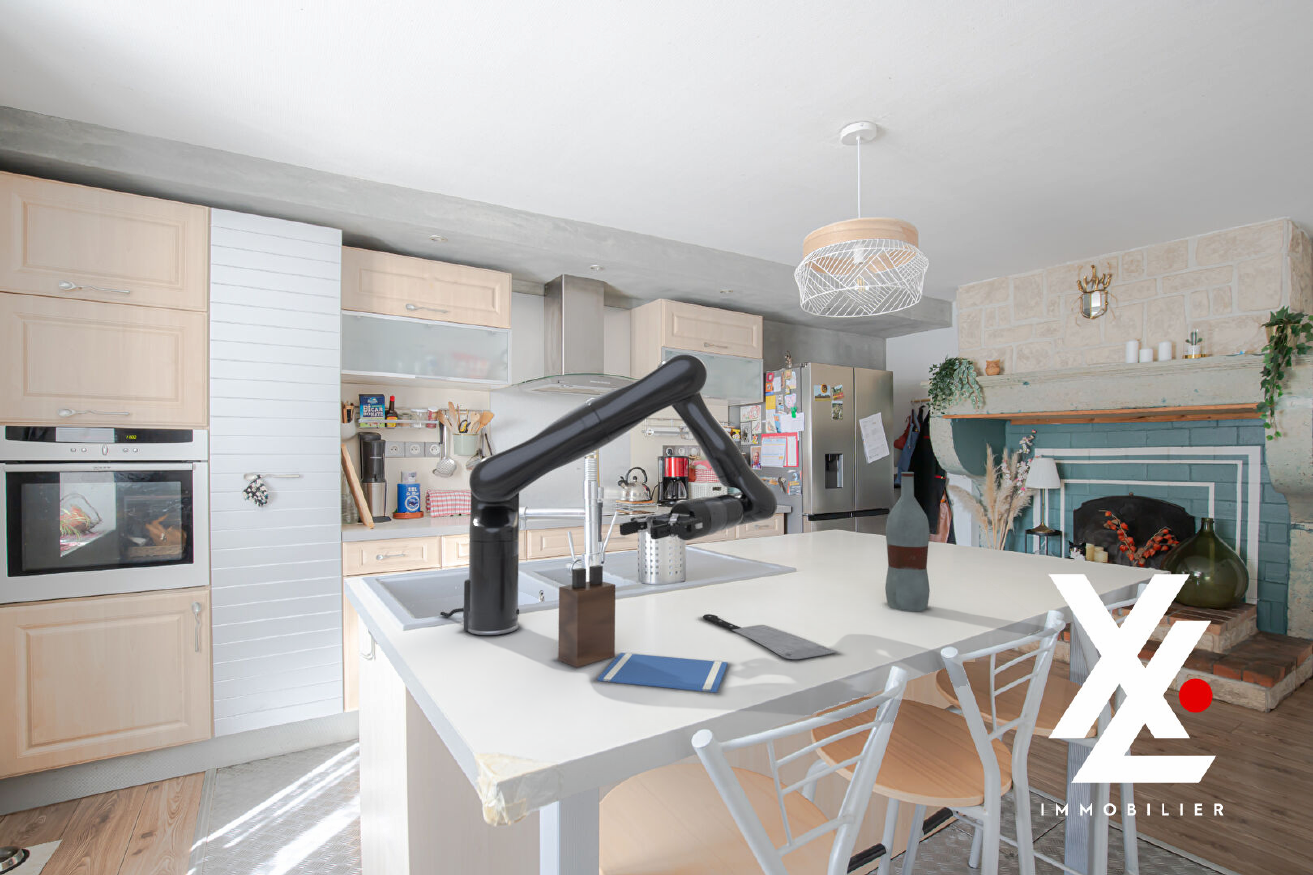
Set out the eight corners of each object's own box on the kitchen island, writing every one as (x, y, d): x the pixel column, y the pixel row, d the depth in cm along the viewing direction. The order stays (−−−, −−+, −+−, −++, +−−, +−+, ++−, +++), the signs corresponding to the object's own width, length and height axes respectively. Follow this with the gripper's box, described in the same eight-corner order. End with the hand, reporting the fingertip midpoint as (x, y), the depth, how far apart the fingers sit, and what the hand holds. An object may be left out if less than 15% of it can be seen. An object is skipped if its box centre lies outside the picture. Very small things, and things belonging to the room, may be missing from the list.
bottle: (908, 600, 146) (908, 471, 146) (939, 609, 137) (939, 472, 138) (876, 603, 143) (876, 471, 143) (905, 613, 134) (906, 473, 134)
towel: (597, 680, 94) (597, 677, 94) (621, 655, 106) (621, 652, 106) (716, 692, 90) (716, 689, 90) (727, 664, 101) (727, 662, 101)
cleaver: (737, 612, 133) (697, 617, 129) (737, 609, 133) (697, 615, 129) (837, 653, 107) (791, 661, 103) (837, 650, 107) (791, 658, 103)
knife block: (558, 660, 103) (559, 568, 103) (595, 649, 109) (596, 562, 109) (577, 667, 99) (577, 572, 100) (614, 656, 105) (615, 566, 105)
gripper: (672, 497, 128) (609, 508, 117) (724, 499, 117) (661, 512, 106) (675, 533, 128) (612, 548, 117) (727, 539, 117) (664, 556, 107)
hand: (636, 531), depth 112 cm, fingers open, 8 cm apart
